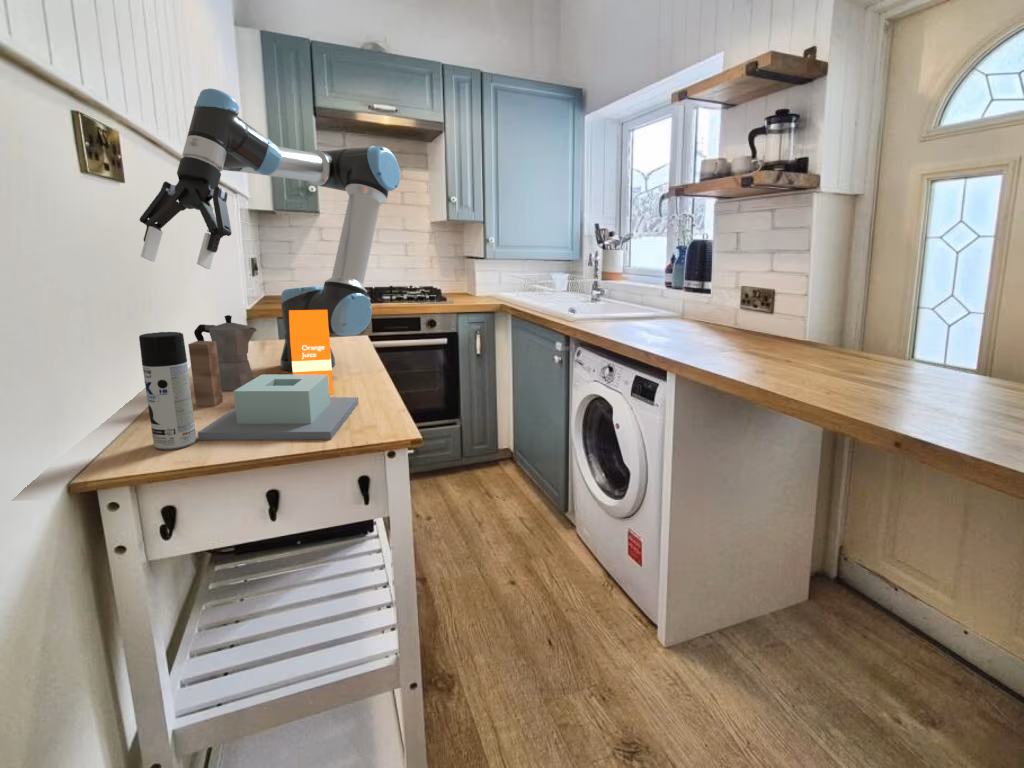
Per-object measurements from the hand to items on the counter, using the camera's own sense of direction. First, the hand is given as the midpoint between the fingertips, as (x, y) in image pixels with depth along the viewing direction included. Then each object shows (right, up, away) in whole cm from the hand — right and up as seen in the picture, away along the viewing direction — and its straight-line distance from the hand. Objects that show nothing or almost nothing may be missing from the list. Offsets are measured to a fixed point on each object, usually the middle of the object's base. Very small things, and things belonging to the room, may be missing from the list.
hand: (175, 263), depth 113 cm
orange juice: (+19, -26, +25) cm, 41 cm away
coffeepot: (-3, -25, +28) cm, 38 cm away
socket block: (+22, -32, +2) cm, 39 cm away
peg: (0, -29, +13) cm, 32 cm away
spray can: (+7, -35, -12) cm, 38 cm away
